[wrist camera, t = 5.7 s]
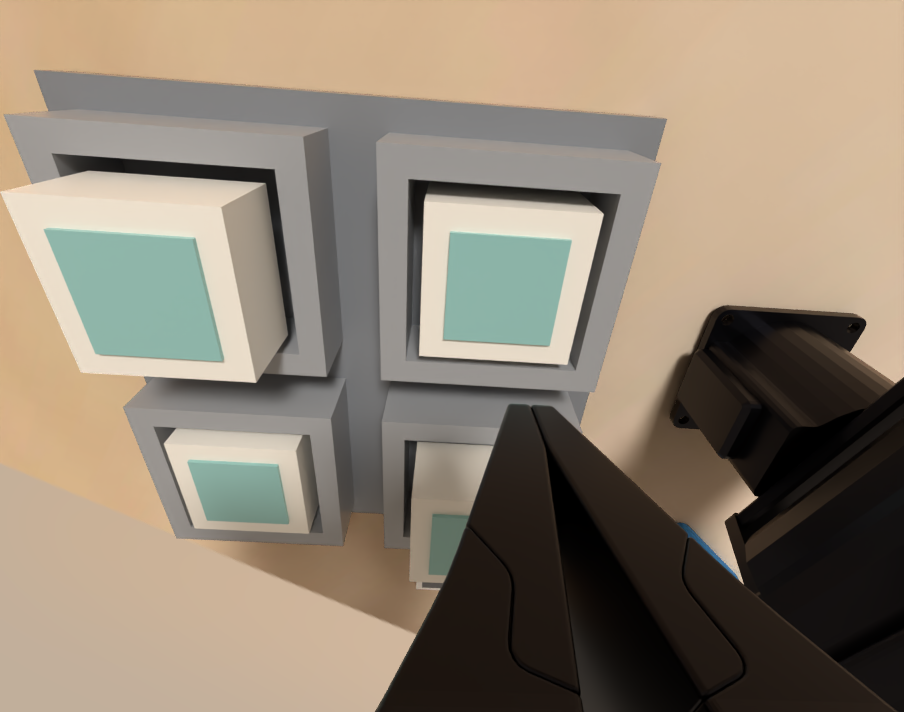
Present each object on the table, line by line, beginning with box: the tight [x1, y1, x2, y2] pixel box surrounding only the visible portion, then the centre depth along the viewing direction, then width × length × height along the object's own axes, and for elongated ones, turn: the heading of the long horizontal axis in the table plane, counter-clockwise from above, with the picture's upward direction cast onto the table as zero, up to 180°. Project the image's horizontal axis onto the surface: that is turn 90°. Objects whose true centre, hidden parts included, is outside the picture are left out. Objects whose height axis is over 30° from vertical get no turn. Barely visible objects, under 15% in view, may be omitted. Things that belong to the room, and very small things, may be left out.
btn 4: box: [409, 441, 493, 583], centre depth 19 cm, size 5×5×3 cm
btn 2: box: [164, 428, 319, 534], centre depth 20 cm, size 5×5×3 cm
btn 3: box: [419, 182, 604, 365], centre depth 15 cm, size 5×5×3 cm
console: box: [4, 70, 667, 549], centre depth 19 cm, size 20×20×4 cm
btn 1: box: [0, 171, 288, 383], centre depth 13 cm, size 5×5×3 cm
